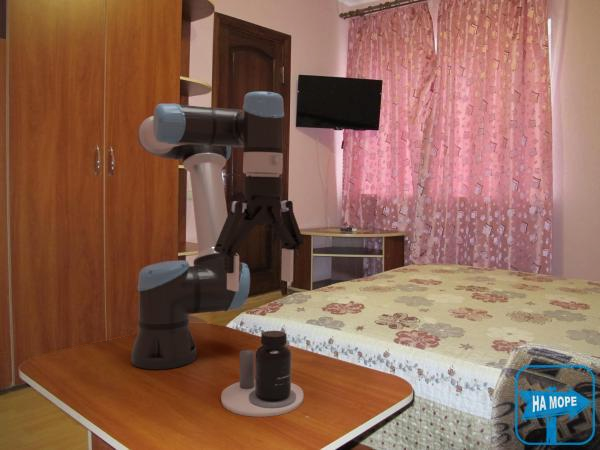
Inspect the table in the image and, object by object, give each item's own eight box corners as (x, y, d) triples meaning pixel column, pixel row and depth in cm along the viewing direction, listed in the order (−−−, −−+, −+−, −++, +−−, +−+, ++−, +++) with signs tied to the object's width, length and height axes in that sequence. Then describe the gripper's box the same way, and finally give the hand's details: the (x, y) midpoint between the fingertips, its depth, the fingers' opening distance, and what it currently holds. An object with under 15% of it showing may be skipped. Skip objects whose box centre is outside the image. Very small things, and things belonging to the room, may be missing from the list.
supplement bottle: (286, 404, 91) (286, 339, 90) (250, 400, 92) (250, 337, 91) (294, 390, 97) (294, 329, 97) (261, 387, 99) (261, 327, 98)
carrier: (205, 397, 97) (205, 357, 97) (268, 377, 108) (268, 341, 108) (255, 425, 85) (255, 380, 85) (320, 399, 96) (320, 359, 96)
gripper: (219, 174, 83) (218, 298, 85) (322, 177, 100) (319, 280, 102) (195, 174, 88) (195, 290, 90) (296, 176, 106) (294, 274, 108)
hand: (261, 285), depth 96 cm, fingers open, 13 cm apart
